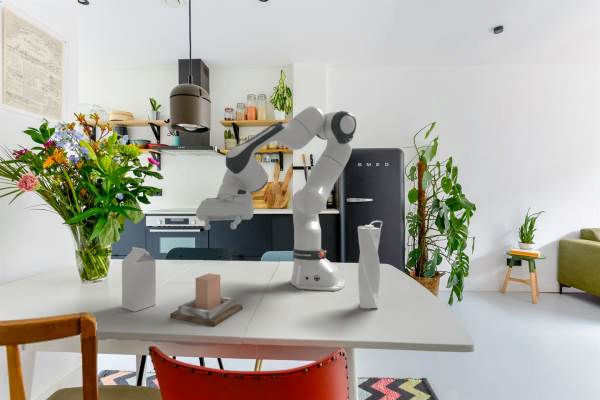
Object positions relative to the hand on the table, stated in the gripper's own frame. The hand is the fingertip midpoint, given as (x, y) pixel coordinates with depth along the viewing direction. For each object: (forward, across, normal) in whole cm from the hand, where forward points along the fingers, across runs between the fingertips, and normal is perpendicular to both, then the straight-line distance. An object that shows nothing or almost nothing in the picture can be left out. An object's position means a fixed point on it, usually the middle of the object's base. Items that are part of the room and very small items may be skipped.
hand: (219, 228), depth 103 cm
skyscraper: (+17, +49, +22) cm, 56 cm away
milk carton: (+24, -25, +10) cm, 36 cm away
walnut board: (+25, 0, +9) cm, 27 cm away
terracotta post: (+24, 0, +9) cm, 26 cm away
